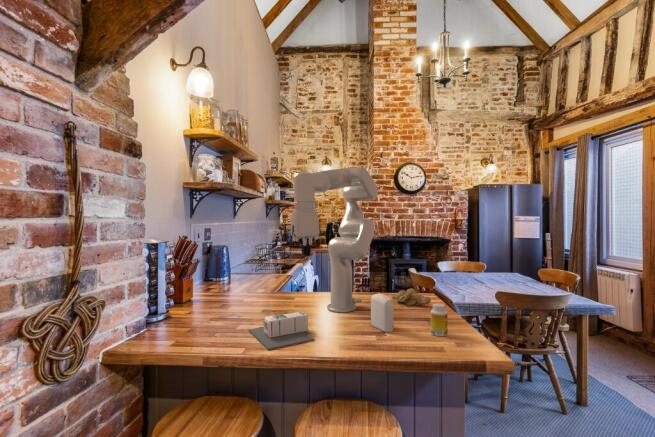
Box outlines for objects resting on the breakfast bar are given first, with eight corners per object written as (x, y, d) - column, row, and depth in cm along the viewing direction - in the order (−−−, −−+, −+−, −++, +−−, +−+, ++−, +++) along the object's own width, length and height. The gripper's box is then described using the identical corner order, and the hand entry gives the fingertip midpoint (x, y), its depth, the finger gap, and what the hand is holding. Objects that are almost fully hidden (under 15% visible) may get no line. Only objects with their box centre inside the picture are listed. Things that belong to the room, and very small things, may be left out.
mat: (289, 323, 130) (289, 322, 130) (314, 340, 113) (314, 338, 113) (248, 331, 122) (248, 329, 122) (268, 350, 105) (268, 348, 105)
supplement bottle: (448, 337, 115) (448, 307, 115) (430, 336, 116) (430, 306, 116) (446, 332, 120) (446, 303, 120) (430, 330, 122) (430, 302, 122)
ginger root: (389, 296, 167) (393, 280, 167) (420, 304, 166) (424, 288, 166) (393, 306, 151) (398, 289, 151) (428, 315, 151) (433, 297, 150)
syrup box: (308, 314, 120) (268, 320, 113) (308, 331, 120) (268, 338, 113) (301, 310, 125) (263, 316, 118) (301, 327, 125) (263, 333, 118)
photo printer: (369, 325, 128) (369, 292, 128) (378, 323, 130) (378, 291, 130) (385, 333, 119) (385, 298, 119) (395, 331, 121) (395, 297, 121)
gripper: (317, 205, 133) (318, 252, 134) (282, 207, 125) (283, 256, 126) (327, 205, 126) (328, 254, 127) (290, 207, 119) (292, 259, 120)
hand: (306, 255), depth 127 cm, fingers closed
